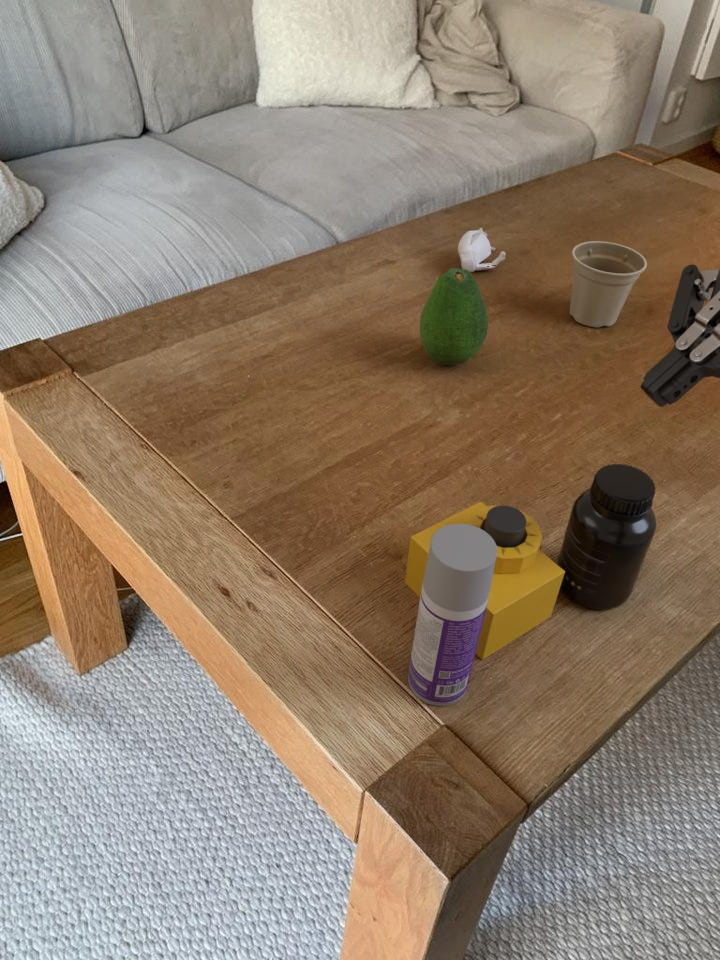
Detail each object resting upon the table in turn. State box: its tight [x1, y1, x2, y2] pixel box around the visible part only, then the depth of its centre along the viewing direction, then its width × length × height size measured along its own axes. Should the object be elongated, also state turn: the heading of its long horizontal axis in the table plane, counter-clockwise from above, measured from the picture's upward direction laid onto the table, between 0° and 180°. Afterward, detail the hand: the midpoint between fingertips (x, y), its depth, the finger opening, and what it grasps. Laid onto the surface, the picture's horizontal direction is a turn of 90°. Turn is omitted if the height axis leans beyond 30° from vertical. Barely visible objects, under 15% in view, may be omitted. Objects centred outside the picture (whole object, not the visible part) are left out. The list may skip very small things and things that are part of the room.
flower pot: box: [569, 240, 648, 329], centre depth 107 cm, size 9×9×9 cm
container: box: [407, 524, 497, 707], centre depth 59 cm, size 5×5×15 cm
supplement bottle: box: [556, 463, 657, 611], centre depth 69 cm, size 7×7×12 cm
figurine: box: [457, 227, 506, 273], centre depth 118 cm, size 6×6×12 cm
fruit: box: [419, 267, 489, 366], centre depth 95 cm, size 8×8×12 cm
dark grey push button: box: [484, 505, 526, 548], centre depth 66 cm, size 3×3×2 cm
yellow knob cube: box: [404, 501, 565, 661], centre depth 68 cm, size 10×8×8 cm
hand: (650, 397), depth 62 cm, fingers closed
